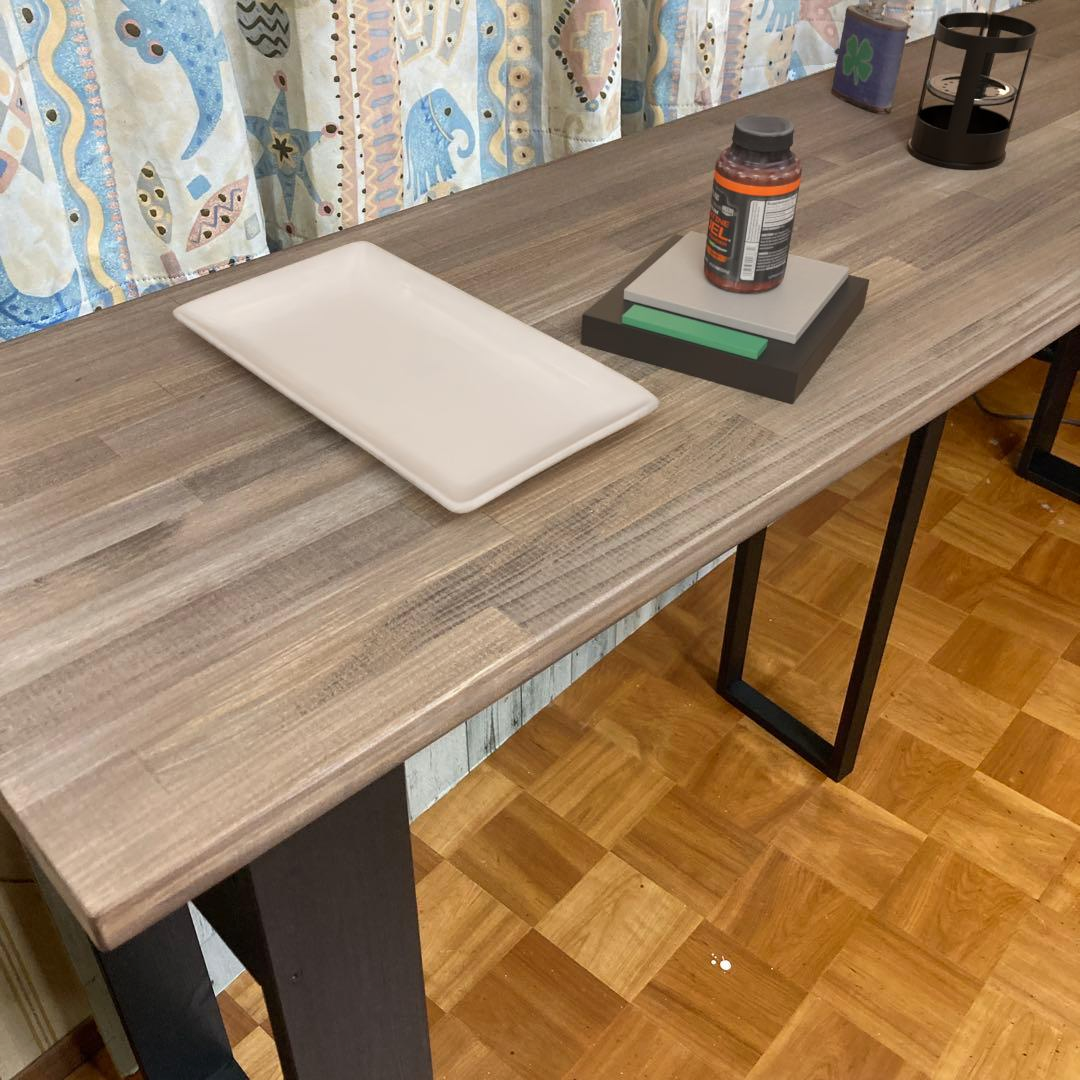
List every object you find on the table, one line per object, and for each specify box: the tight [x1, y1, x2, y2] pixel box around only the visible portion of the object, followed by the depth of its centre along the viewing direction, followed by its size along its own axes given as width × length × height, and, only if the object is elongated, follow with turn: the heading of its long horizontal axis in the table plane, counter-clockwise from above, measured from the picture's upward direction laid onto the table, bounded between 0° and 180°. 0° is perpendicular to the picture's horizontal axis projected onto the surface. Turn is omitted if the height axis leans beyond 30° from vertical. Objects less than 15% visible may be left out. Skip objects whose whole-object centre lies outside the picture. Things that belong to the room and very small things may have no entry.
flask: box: [830, 0, 910, 115], centre depth 121 cm, size 9×3×11 cm, turn 25°
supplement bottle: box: [704, 113, 803, 293], centre depth 79 cm, size 6×6×11 cm
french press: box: [906, 0, 1038, 171], centre depth 105 cm, size 12×9×23 cm
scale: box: [580, 230, 870, 405], centre depth 82 cm, size 16×16×3 cm
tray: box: [172, 240, 661, 514], centre depth 74 cm, size 17×32×4 cm, turn 43°
